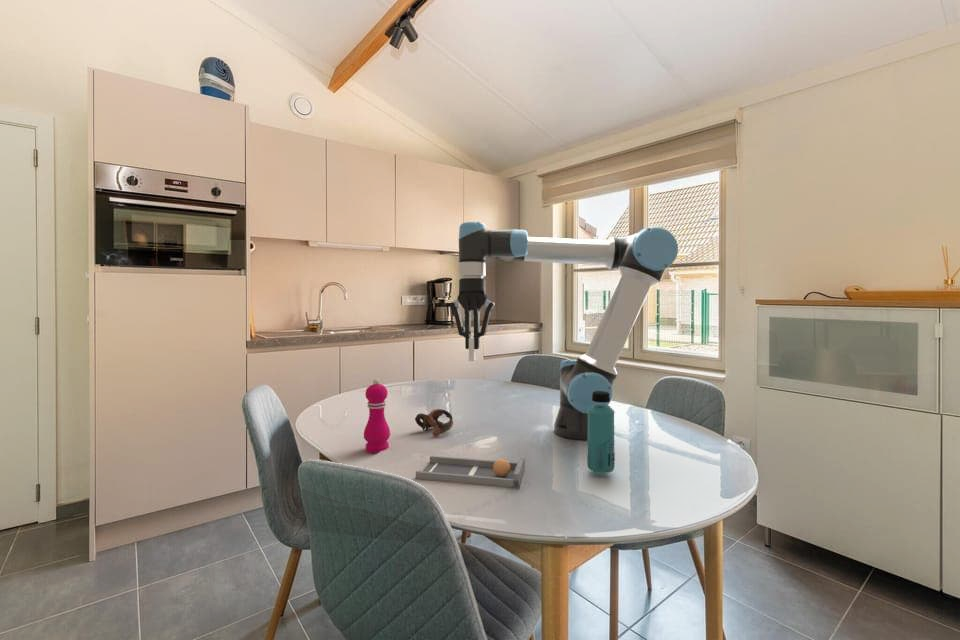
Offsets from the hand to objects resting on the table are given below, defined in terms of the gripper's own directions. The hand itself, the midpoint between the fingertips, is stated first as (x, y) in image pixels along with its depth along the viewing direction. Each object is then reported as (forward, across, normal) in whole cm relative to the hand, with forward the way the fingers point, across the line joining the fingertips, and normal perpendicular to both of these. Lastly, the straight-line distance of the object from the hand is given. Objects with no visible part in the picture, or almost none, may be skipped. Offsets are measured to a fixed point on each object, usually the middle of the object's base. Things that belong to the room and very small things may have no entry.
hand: (472, 360), depth 128 cm
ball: (+24, -12, +23) cm, 35 cm away
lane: (+24, -5, +22) cm, 34 cm away
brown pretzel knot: (+25, +14, -9) cm, 30 cm away
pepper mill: (+25, +25, +10) cm, 36 cm away
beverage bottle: (+25, -35, +15) cm, 45 cm away
